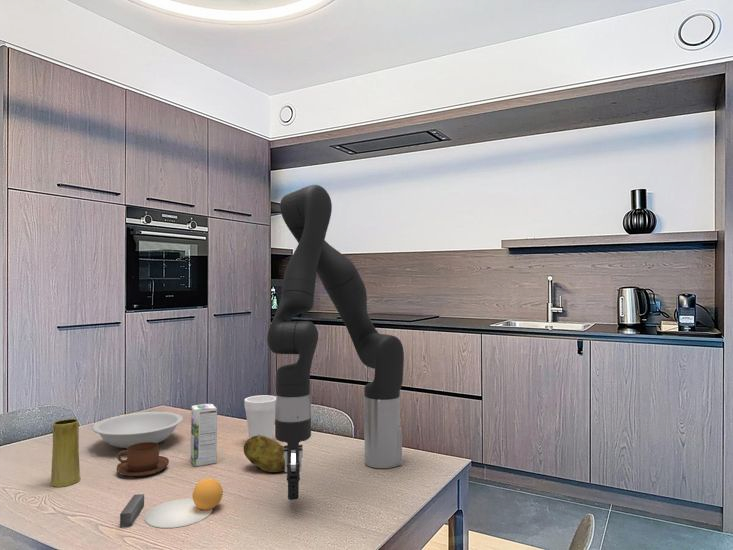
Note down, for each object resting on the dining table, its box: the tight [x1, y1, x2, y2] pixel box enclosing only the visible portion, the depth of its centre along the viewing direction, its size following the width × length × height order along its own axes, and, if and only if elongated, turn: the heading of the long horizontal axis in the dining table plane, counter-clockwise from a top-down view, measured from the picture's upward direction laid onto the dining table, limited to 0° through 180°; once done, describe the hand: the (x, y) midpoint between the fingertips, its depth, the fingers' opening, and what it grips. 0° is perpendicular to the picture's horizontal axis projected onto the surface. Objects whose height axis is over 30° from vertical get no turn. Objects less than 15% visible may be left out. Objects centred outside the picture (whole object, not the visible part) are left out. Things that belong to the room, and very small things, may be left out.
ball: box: [192, 477, 224, 510], centre depth 107 cm, size 6×6×6 cm
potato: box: [243, 435, 288, 473], centre depth 129 cm, size 8×13×8 cm, turn 60°
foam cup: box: [244, 394, 276, 440], centre depth 149 cm, size 10×9×13 cm
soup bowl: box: [91, 411, 184, 449], centre depth 149 cm, size 24×24×7 cm
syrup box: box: [190, 403, 218, 468], centre depth 134 cm, size 6×6×14 cm
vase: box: [49, 418, 81, 488], centre depth 121 cm, size 6×6×14 cm
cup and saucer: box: [116, 442, 170, 477], centre depth 128 cm, size 12×12×6 cm
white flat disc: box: [144, 497, 214, 529], centre depth 105 cm, size 13×13×1 cm
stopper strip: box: [119, 493, 145, 528], centre depth 103 cm, size 2×9×2 cm, turn 9°
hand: (293, 498), depth 108 cm, fingers closed
